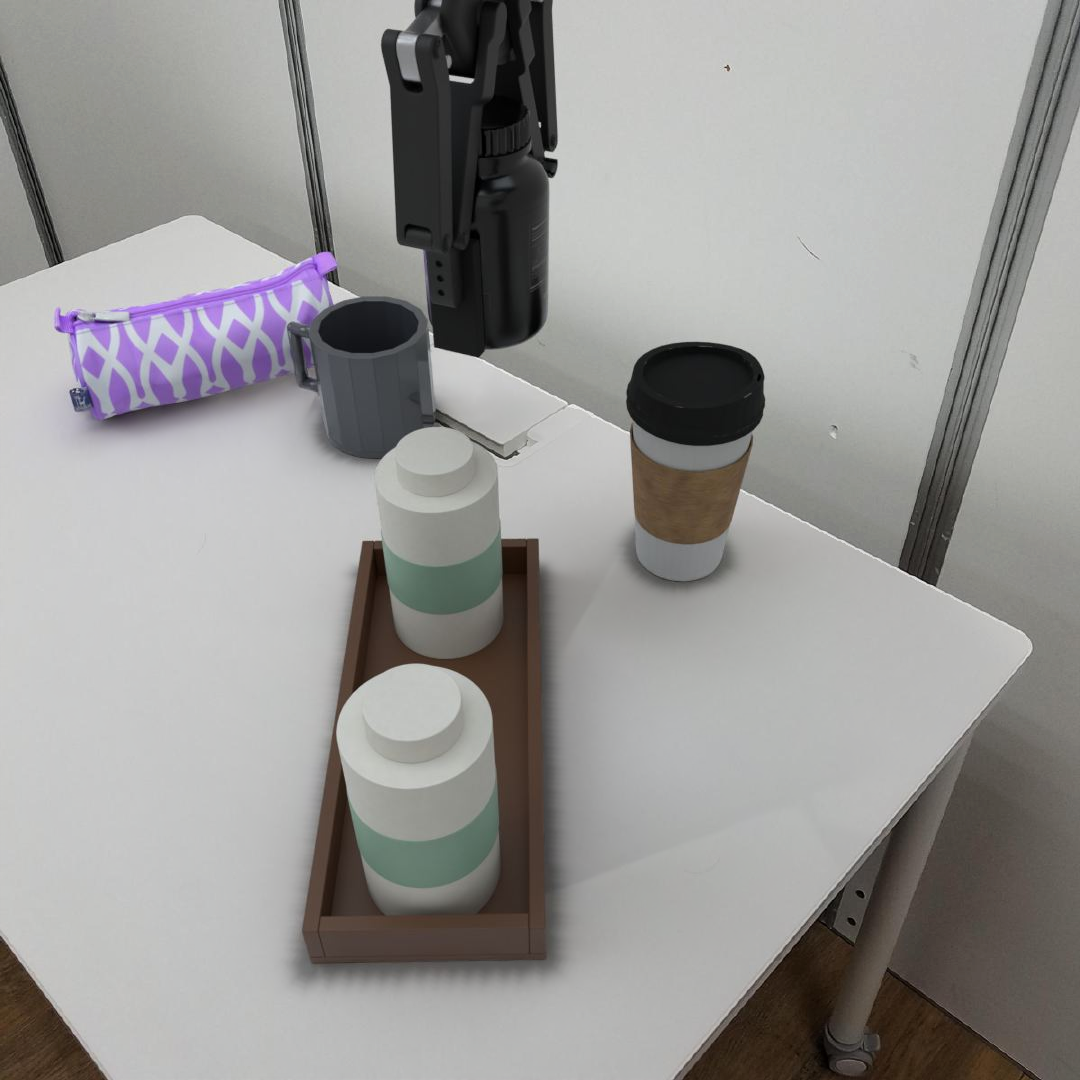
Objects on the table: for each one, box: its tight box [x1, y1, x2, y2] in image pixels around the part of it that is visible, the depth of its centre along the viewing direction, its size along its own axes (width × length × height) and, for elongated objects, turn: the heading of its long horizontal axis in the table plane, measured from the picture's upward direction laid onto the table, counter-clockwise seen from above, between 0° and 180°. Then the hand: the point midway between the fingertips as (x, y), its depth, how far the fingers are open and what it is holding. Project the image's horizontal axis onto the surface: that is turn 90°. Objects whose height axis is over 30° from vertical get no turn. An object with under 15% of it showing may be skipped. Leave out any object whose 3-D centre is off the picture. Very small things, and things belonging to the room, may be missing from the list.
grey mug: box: [287, 295, 437, 459], centre depth 85 cm, size 12×9×9 cm
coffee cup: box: [625, 341, 766, 582], centre depth 72 cm, size 8×8×15 cm
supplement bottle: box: [422, 95, 550, 351], centre depth 59 cm, size 7×7×12 cm
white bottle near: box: [336, 664, 501, 915], centre depth 54 cm, size 7×7×14 cm
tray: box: [301, 537, 547, 964], centre depth 64 cm, size 12×28×3 cm, turn 1°
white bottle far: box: [373, 426, 504, 659], centre depth 67 cm, size 7×7×14 cm
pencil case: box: [53, 251, 339, 421], centre depth 89 cm, size 22×9×9 cm, turn 115°
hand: (489, 315), depth 63 cm, fingers closed on supplement bottle, 7 cm apart
